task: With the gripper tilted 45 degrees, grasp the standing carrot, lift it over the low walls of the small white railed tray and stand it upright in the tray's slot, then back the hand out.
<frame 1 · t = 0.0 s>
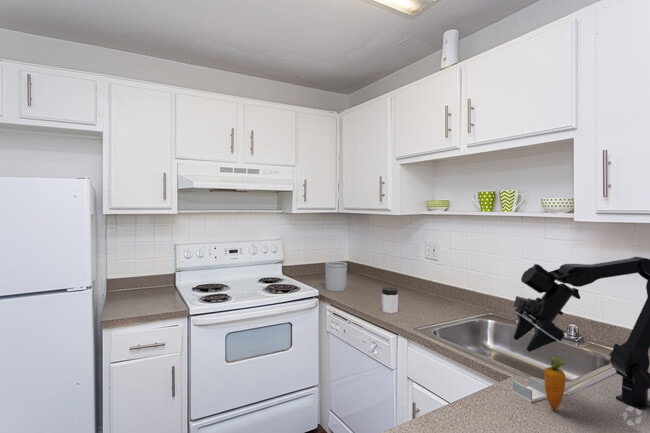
hand: (521, 344, 108), 15 cm above the counter, tool tilted 35°, fingers open, 9 cm apart
carrot: (553, 410, 100), on the counter
white railed tray: (530, 395, 108), on the counter
jar: (389, 311, 195), on the counter
utensil holder: (335, 289, 247), on the counter
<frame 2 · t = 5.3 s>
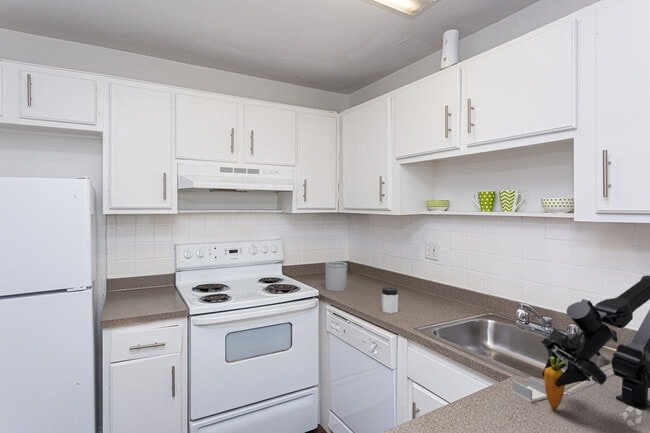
hand: (549, 380, 100), 8 cm above the counter, tool tilted 45°, fingers closed on carrot, 5 cm apart
carrot: (553, 410, 100), on the counter, touching gripper
everything else where it was.
when the fingers open (10 cm above the counter, at t = 8.6 s): carrot drops 1 cm, resting on white railed tray.
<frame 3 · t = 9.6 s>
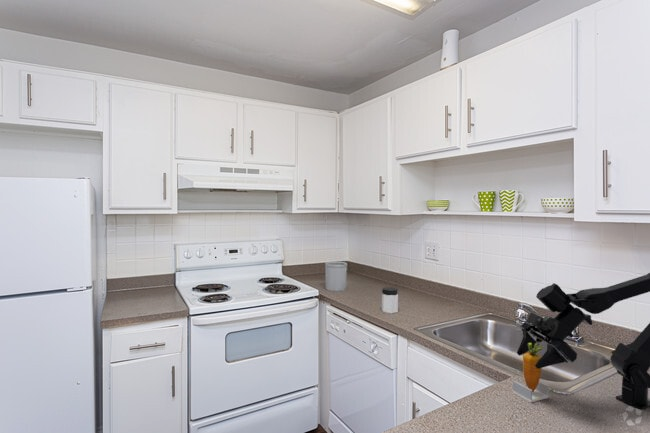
hand: (526, 360, 108), 10 cm above the counter, tool tilted 45°, fingers open, 9 cm apart
carrot: (531, 393, 108), point 1 cm above the counter, touching white railed tray
everything else where it was.
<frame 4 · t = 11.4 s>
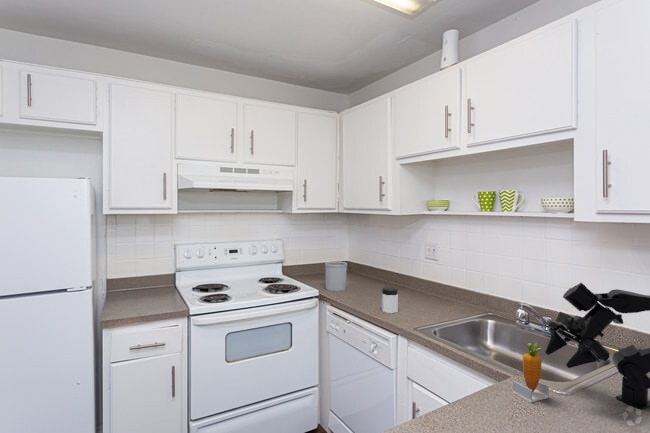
hand: (556, 359, 108), 11 cm above the counter, tool tilted 45°, fingers open, 9 cm apart
nothing on the counter moved.
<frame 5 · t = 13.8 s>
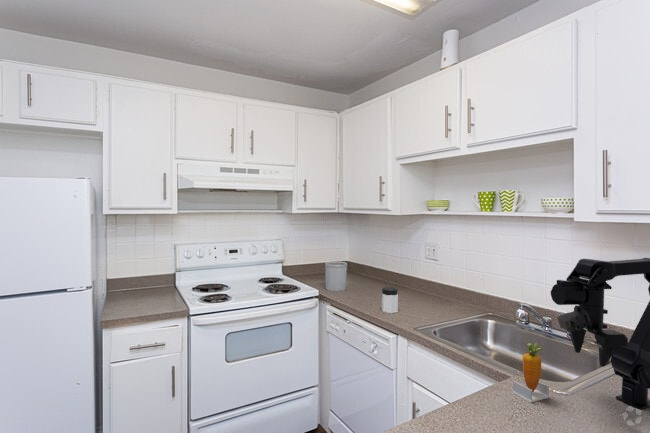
hand: (589, 359, 103), 13 cm above the counter, tool pointing down, fingers open, 9 cm apart
nothing on the counter moved.
at the end: carrot 0.2 cm off-centre on the white railed tray, point 0.6 cm above the white railed tray's base; carrot tilted 1°; the gripper is holding nothing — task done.
